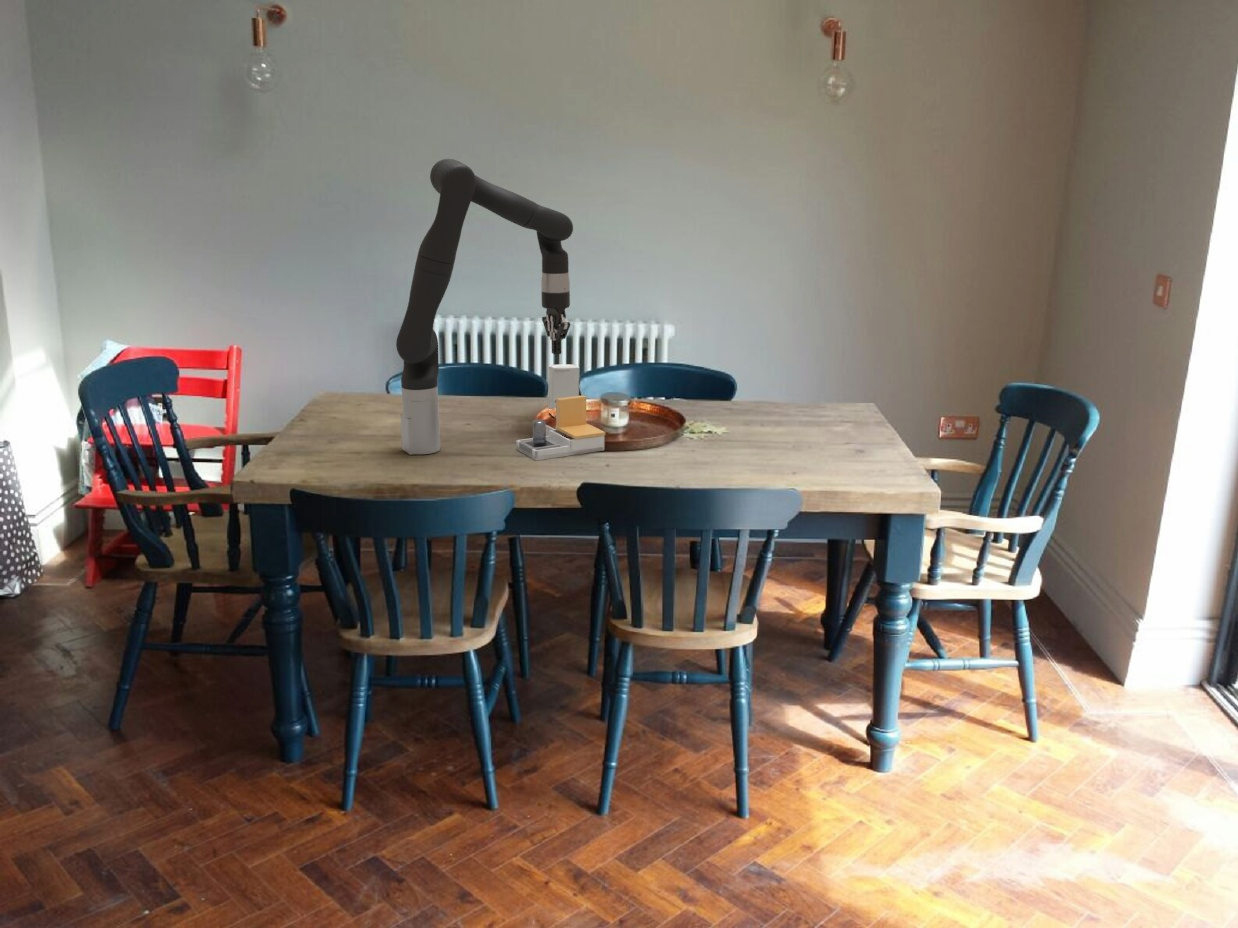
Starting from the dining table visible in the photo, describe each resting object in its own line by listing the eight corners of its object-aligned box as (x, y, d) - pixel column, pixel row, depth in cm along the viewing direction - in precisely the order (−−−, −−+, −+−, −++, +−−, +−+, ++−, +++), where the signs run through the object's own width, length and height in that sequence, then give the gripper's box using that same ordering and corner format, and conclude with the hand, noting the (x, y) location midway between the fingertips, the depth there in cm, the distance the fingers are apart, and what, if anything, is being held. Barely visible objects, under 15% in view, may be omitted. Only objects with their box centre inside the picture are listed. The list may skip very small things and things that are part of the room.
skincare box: (552, 418, 332) (551, 368, 328) (547, 413, 338) (546, 364, 334) (580, 416, 335) (579, 366, 330) (574, 411, 340) (574, 362, 336)
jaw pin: (549, 450, 295) (549, 422, 293) (534, 451, 294) (534, 424, 291) (544, 446, 299) (543, 418, 296) (529, 447, 297) (529, 420, 295)
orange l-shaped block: (575, 439, 293) (575, 408, 291) (555, 429, 303) (554, 398, 301) (605, 435, 297) (605, 404, 295) (584, 425, 307) (584, 395, 305)
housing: (535, 460, 290) (535, 445, 289) (504, 442, 306) (503, 428, 305) (604, 450, 299) (604, 435, 298) (570, 433, 316) (570, 419, 315)
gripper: (579, 291, 298) (580, 356, 303) (557, 285, 309) (558, 348, 314) (553, 293, 294) (554, 359, 299) (532, 287, 305) (533, 351, 310)
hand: (556, 353), depth 306 cm, fingers closed
